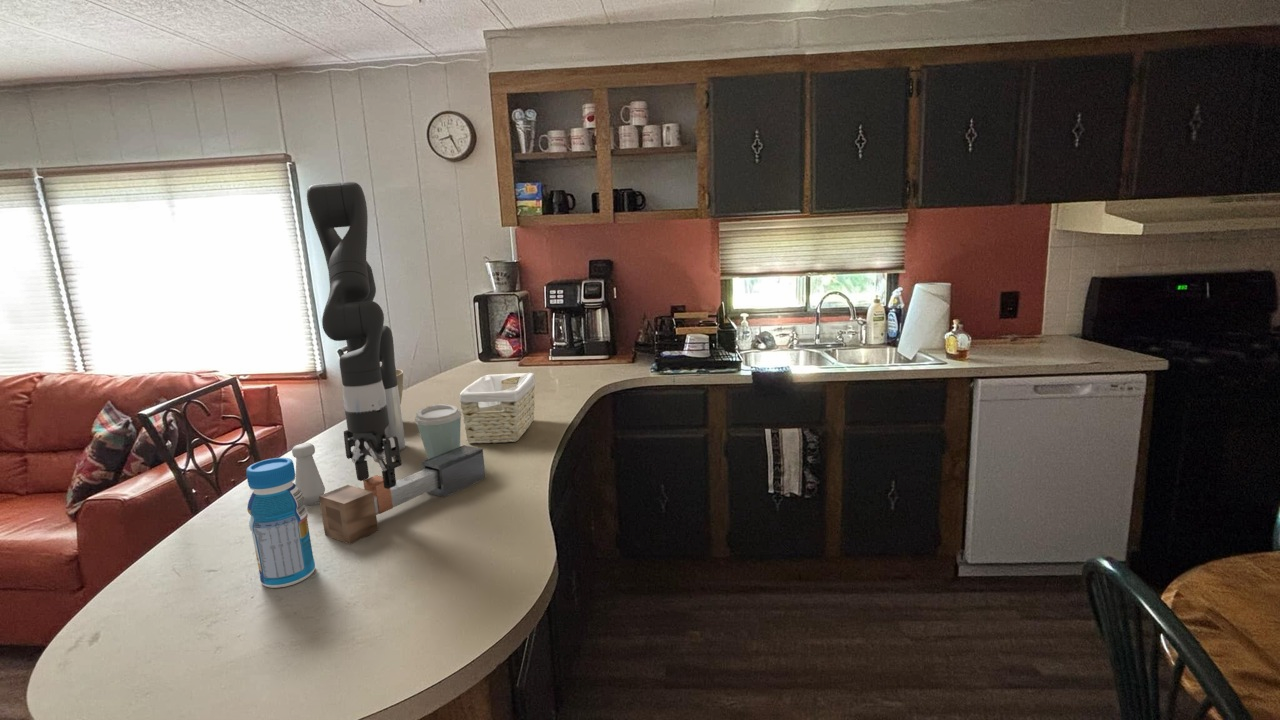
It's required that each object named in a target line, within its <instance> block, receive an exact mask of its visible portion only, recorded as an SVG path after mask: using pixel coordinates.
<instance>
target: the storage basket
mask: <svg viewBox="0 0 1280 720" xmlns="http://www.w3.org/2000/svg"><path fill="white" fill-rule="evenodd" d="M503 384H505V385H506V384H509V385H510V384H511V385H514V386H512V387H510V388H507V389H503ZM516 384H517V385H516ZM535 386H536V380H535V373H534V372H526V373H524V372H522V373H521V372H520V373H517V372H516V373H500V374H499V373H498V374H494V373H493V374H486V375H483V376H481V377H479V378H478V379H476V380H475V381H473V382H472V383H471V384H469V385H467V386H466V387H465V388H463V390H462V391H461V392H460V393H459V403H460V409H461V414H462V415H463V417H462V418H463V424H464V431H465V435H466V438H467V439H466V440H465V441H466V442H467V443H469V444H491V443H492V444H499V443H503V444H505V443H517V441H519V440H520V438H521V437H522V436H523V434H524V433H526V432H527V429H529V427H530V426H531V424H532V423H533V421H534V420H535V405H536V404H535V392H536V391H535V388H536V387H535Z"/></svg>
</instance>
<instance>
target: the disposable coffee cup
mask: <svg viewBox="0 0 1280 720" xmlns="http://www.w3.org/2000/svg"><path fill="white" fill-rule="evenodd" d="M415 414H416V416H415V417H414V423H415V424H416V426H417V429H418V432H419V435H420V438H421V441H422V445H423V447H424V448H423V449H424V452H425V454H426V458H427V460H428V459H430V458H433V457H435V456H438V455H440V454H443V453H445V452H448V451H450V450H453V449H455V448H458V447H461V426H462V425H461V421H462V420H461V417H462V411H460V410H459V408H457V406H455V405H452V404H445V403H444V404H443V403H441V404H439V403H437V404H433V405H428V406H425V407H424V406H423V407H421V408H419V410H417V412H416V413H415Z"/></svg>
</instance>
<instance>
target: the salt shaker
mask: <svg viewBox="0 0 1280 720" xmlns="http://www.w3.org/2000/svg"><path fill="white" fill-rule="evenodd" d="M291 453H292V456H293V457H294V458H296V459H295V480H294V481H295V483H294V484H295V485H296V486H297V487H298V488H299V489H300V490H301V492H302V493H303V495H304V501H303V505H304V506H305V507H306V506H314V505H316V504H319V503H320V500H319V496H320V495H323V494H325V492H326V487H325V484H324V482H323V479H322V477H321V475H320V471H319V470H318V467H317V465H316V462H315V459H314V456H313V455H314V454H315V453H316V447H315V445H314V444H312V443H309V442H304V443H299V444H297V445H294V446H293V448H292V449H291Z"/></svg>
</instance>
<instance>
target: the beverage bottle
mask: <svg viewBox="0 0 1280 720" xmlns="http://www.w3.org/2000/svg"><path fill="white" fill-rule="evenodd" d="M245 470H246V474H245V475H246V479H247V484H248V487H249V489H250V491H251V490H252V492H251V495H250V497H249V500H248V503H247V510H246V511H247V513H248V514H249V515H250V519H249V522H248V524H249V525H248V526H249V530H250V531H251V534H252V540H253V547H254V550H255V556H256V562H257V566H258V572H259V573H258V574H259V579H260V583H261V584H262V585H263V586H265V587H266V588H271V589H272V588H273V589H277V588H285V587H290V586H293V585H296V584H299V583H300V582H302V581H303V582H304V581H305V580H306V579H307V578H309V577H310V576H312V574H313V573H314V571H315V569H316V562H315V559H314V554H313V553H314V552H313V549H312V540H311V536H310V528H309V522H308V516H309V515H308V514H309V513H308V508H307V507H306V506H304V505H303V501H304V495H303V493H302V492H301V490H300V489H299V488H298V487H297V486H296V485H295V483H294V481H295V478H296V469H295V464H294V462H293V459H291V458H288V457H274V458H268V459H264V460H260V461H257V462H254V463H253V464H250V465H249V466H247V468H246V469H245Z"/></svg>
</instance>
